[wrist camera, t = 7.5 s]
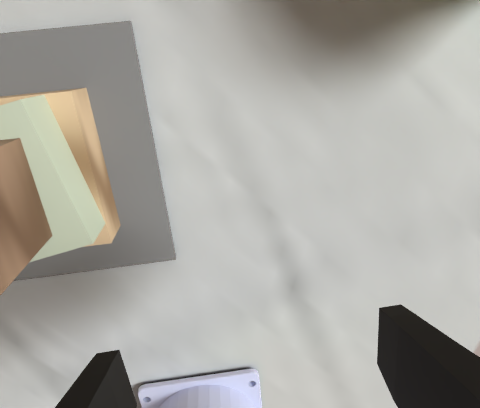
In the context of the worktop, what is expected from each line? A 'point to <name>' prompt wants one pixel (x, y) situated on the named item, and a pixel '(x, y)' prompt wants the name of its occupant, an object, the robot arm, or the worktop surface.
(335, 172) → the worktop surface
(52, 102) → the oak slab
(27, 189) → the walnut block
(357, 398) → the worktop surface
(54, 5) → the worktop surface
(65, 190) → the sage slab
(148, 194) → the mat
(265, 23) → the worktop surface
